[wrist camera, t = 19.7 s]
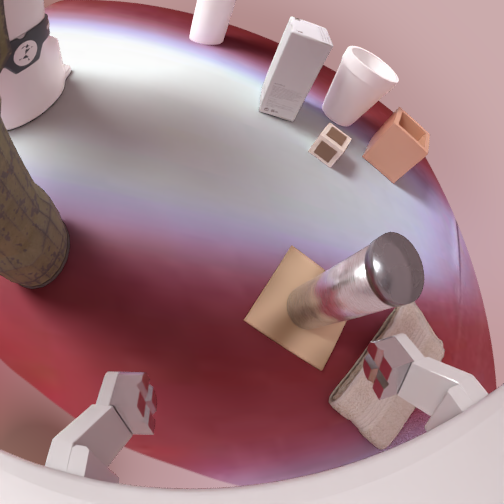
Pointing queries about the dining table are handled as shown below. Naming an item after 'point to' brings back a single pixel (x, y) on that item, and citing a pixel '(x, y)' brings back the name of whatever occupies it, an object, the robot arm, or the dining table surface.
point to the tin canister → (360, 284)
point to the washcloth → (360, 389)
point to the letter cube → (330, 145)
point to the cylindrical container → (211, 21)
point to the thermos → (26, 211)
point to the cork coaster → (278, 321)
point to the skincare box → (294, 68)
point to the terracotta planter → (397, 146)
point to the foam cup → (357, 86)
